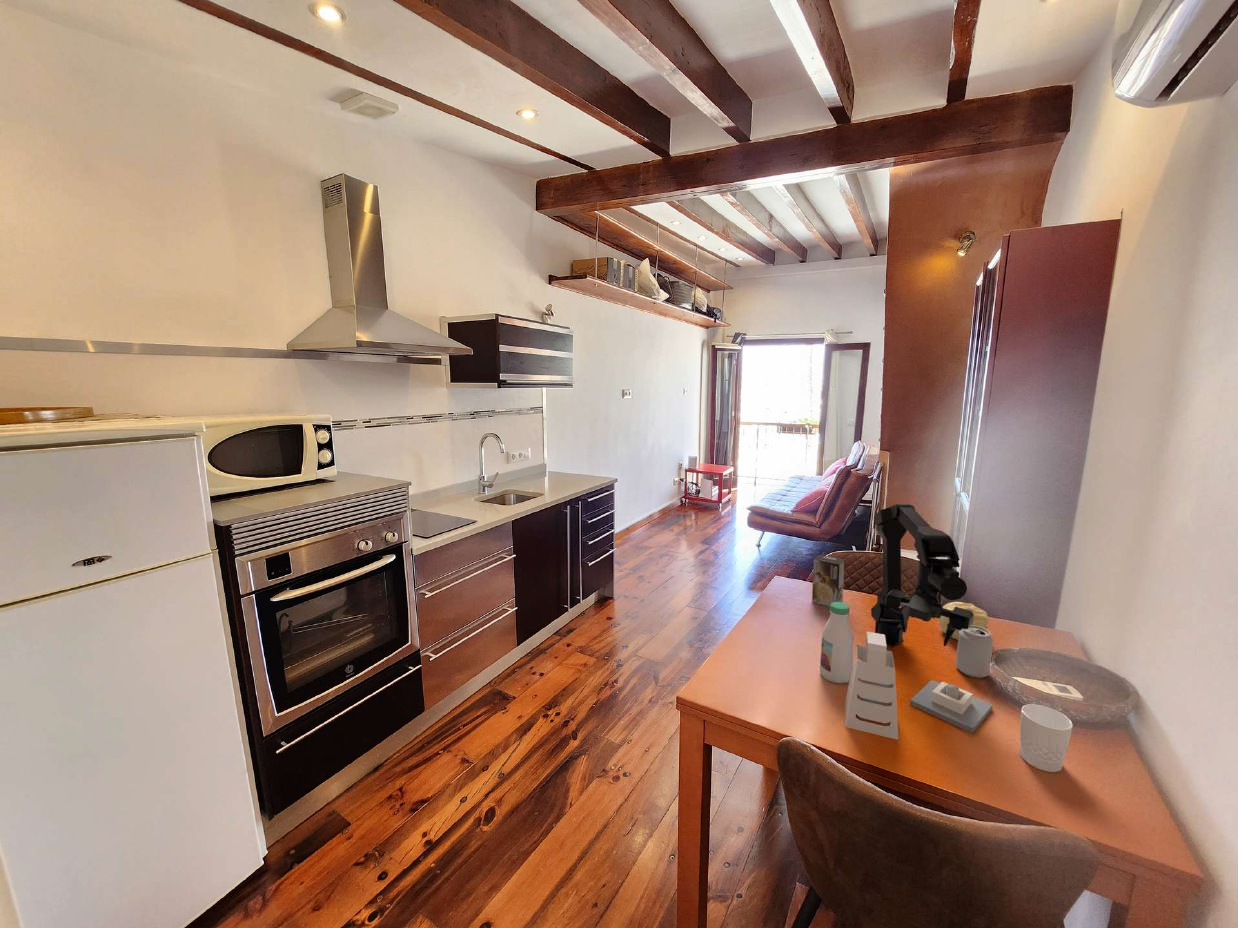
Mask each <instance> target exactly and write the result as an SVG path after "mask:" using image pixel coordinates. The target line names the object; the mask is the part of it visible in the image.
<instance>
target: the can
mask: <svg viewBox="0 0 1238 928" xmlns="http://www.w3.org/2000/svg"><path fill="white" fill-rule="evenodd" d="M993 646H994V638H993V636H992V632H991V631H989V630H988V628H987V629H985V628H982V627H979V626H974V625H971V626H970V627H969V629H962V630H960V631H959V638H958V640H957V648H956V649H957V650H956V658H955V666H956V668H957V669H958V670H959V671H960V672H961V673H962V674H964V675H967V676H969V677H973V678H977V679H979V678H980V679H983V678H986V677H988V676H989V675H990V671H991V665H990V663H991V664H992V656H993V655H992V654H993V649H994V647H993Z"/></svg>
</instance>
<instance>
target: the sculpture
mask: <svg viewBox="0 0 1238 928" xmlns="http://www.w3.org/2000/svg"><path fill="white" fill-rule="evenodd" d="M942 607H943V608H945V609H948V610H952V611H953V609H954V608H955V607H959V608H962V609H966V610H969V611H972V612H973V614H974V620H973V623H972V624H971V625H974V626H979V627H982V628H985V629H987V630H988V624H989V620H990V619H989V617H988V616H989V615H988V613H987V612H986V611H985V610H983V609H981V608H979V607H977V606H976V605H974V604H973V603H967V602H962V601H952V602H948V603H946V604H944V605H942ZM937 619H938V626H939V627H940V629H941V630H942V632H943V633H944V634H945V635H946V631H947V625H948V623H949V618H948V617H944V616H941V617H940V619H939V618H937ZM959 631H960V630H955V632H954V633H953V635H952V636H951V638H952V639H953V640H956V641H958V638H959Z"/></svg>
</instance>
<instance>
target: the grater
mask: <svg viewBox="0 0 1238 928" xmlns="http://www.w3.org/2000/svg"><path fill="white" fill-rule="evenodd" d="M865 637H866V638H865V646H863V645H858V644H857V645H856V649H855V653H854V656H853V663H852V672H851V677H850V681H849V682H848V686H847V691H846V697H845V728H848V729H852V730H857V731H862V732H865V733H868V734H869V733H870V734H874V735H877V736H882V737H886V738H890V739H893V740H896V741H897V740H899V727H898V725H899V723H898V706H897V704H898V703H897V702H898V701H897V684H896V683H897V682H896V681H897V680H896V668H895V660H894V653H893V651H891V650H887V647H888V646H887V644H886V639H885V635H884V634H878V633H875V632H872V631H866V636H865ZM857 716H858V717H859V718H860V719H863V720H860V719H859V718H857ZM864 720H869V722H868V721H864ZM870 721H873V722H878V723H883V724H889V723H890V725H886V726H885V725H882V724H881V725H880V724H877V723H872V722H870Z"/></svg>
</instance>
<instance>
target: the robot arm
mask: <svg viewBox="0 0 1238 928" xmlns="http://www.w3.org/2000/svg"><path fill="white" fill-rule="evenodd" d="M873 521H874V525H875V530H876V532H877V533H878V535H879V536H880V538H881V541H882V543H881V544H882V586H883V587H882V589H881V591H880V592H879V593H878V595H877V601H876V604H874V605H873V606H872V607H871V608H870V609H871V610H870V613H871V614H870V615H871V617H872V619H873V620H874V621H875V624H874V633H878V634H884V635H885V639H886V645H889V646H890V647H891V646H892V647H895V646H896V645H898V644H900V643H901V642H902V641H903V640H904V638H903V636H904V634H905V633H907V629H908V626H909V625H908V623H909V622H908V621H909V619H910V617H911V618H914V619H917V620H918V619H919V620H922V622H930V621H931V620H932V619H935V618H936V619H938V618H939V619H940V617H941V616H944V617H948V618H949V623H948V625H947V631H946V634H945V636H944V639H943V647H946V646H947V644H948V643H949V642H950V639H951V638H952V637H951V636H952V635H953V633H954V632H955V630H962V629H969V627H970V626H971V624H972V623H973V620H974V614H973V612H972V611H969V610H966V609H962V608H959V607H955V608H954V609H953V611H952V610H948V609H945V608H943V598H944V599H946V600H949V601H958V600H959V599H962V598H963V597H964V596H965V595H966V593H967V591H968V586H967V583H966V582H965V580H963V579H962V577H960V572H959V571H958V570H956V569H954V568H960V562H959V561H960V560H961V559H960V557H959V554H958V551H957V549H956V546H955V541H954V540H953V538H951V536H950V535H949V534H948V533H946V532H944V530H943V531H942V530H940V529H937V528H933V527H932V526H931V525H930V524H929V523H928V522H927V521H926V520H925V519H924V518H923V516H921V515H920V513H918V512H917V510H916V507H915V506H914V505H913V504H911V503H910V504H909V503H895V504H892V505H891V506H889V507H886V508H883V509H879V510H877V512H876V513H875V514H874V516H873ZM907 532H909V533H908V534H910V535H911V536H912V538H913V539H914V542H913V543H914V544H913V547H914V548H915V550H916V554H917V555H916V559H918V560H919V561H918V562H919V563H918V570H917V580H916V581H917V582H916V585H915V589H914V592H913V595H912V597H911V598H910V597H909V593H908V592H905V591H903V590H902V589H903V586H902V550H901V549H902V546H901V544H902V539H903V538H904V537H905V535H906V534H907Z"/></svg>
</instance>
